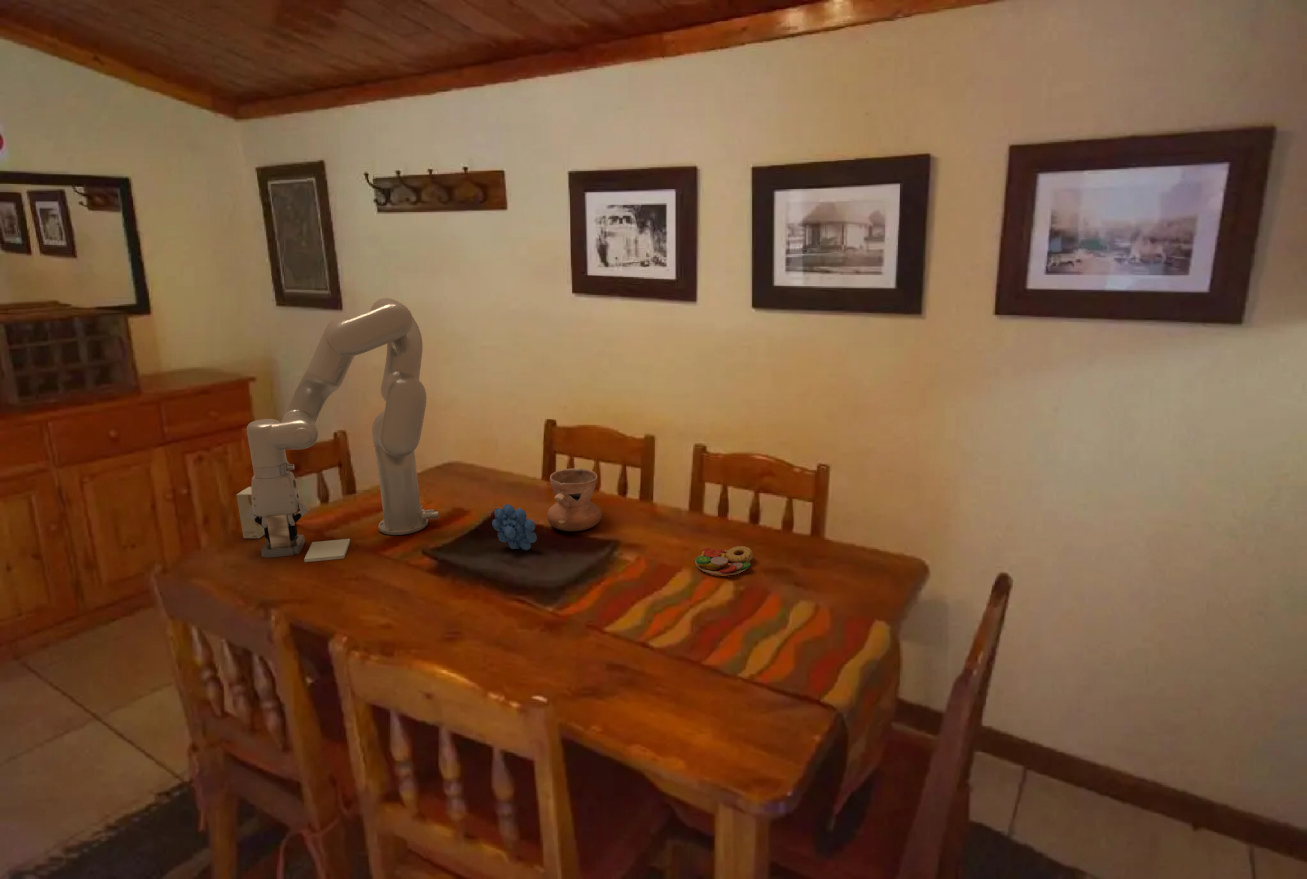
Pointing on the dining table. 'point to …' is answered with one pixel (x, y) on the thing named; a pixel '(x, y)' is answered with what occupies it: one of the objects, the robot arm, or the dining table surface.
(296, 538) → the frame
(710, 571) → the toy food set
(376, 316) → the robot arm
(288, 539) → the square peg
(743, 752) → the dining table surface
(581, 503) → the ceramic jug
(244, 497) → the skincare box
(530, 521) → the blue flower
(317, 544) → the coaster
